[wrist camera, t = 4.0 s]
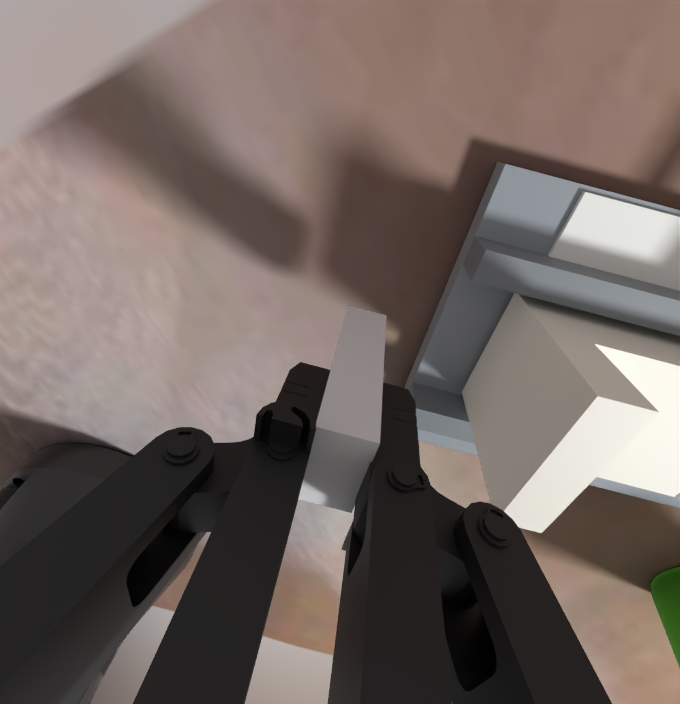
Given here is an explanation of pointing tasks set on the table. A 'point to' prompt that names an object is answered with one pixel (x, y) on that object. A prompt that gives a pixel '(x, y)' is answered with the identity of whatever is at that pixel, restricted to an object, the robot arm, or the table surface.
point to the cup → (669, 605)
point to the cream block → (572, 408)
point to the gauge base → (544, 284)
